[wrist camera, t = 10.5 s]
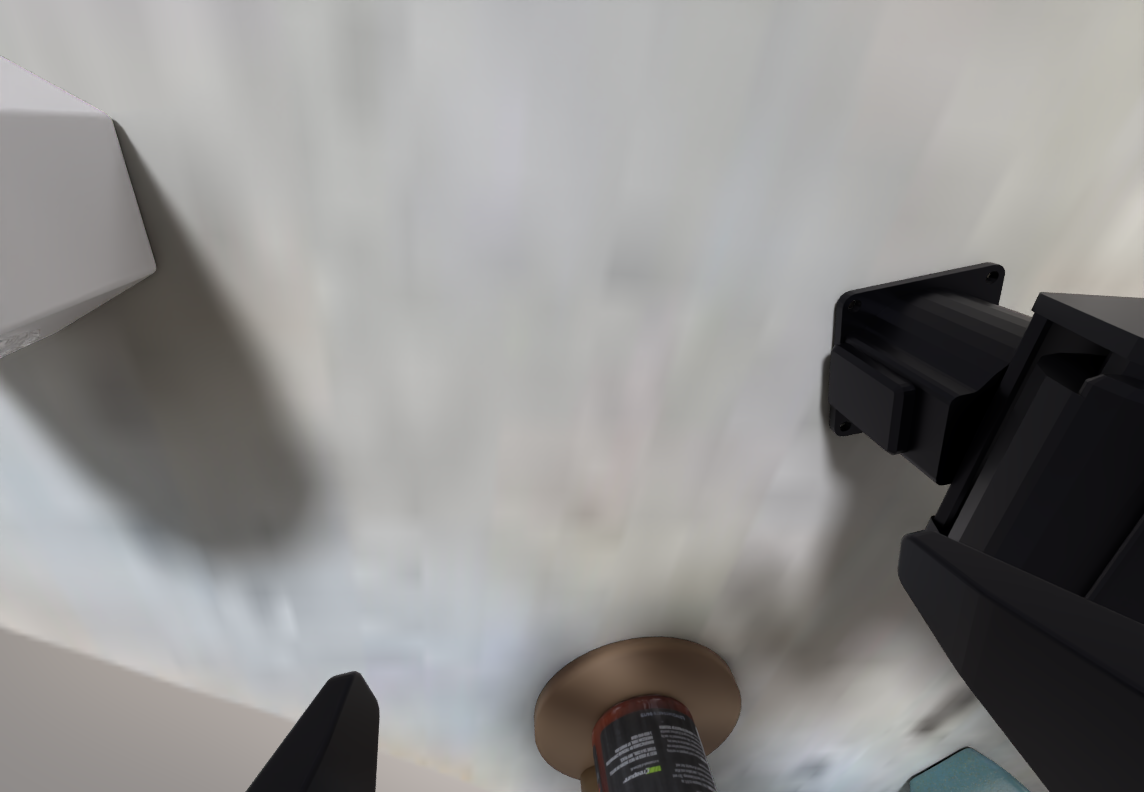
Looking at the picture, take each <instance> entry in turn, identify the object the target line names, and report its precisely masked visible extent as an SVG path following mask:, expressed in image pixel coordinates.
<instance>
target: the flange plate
mask: <svg viewBox="0 0 1144 792" xmlns="http://www.w3.org/2000/svg"><path fill="white" fill-rule="evenodd" d="M653 694H658V695H661V696H667V697H672V698H673V699H676V700H677V701H680V702H681V703H683V704H684V705H685V706H686V707H687V708H688V710H689V711H690V713H691V715H692V717H693V720H694V723H695V726H696V728H697V731H698V734H699V737H700V740H701V743H702V746H703V749H704V752H705V755H706V756H707V755H709V754H710V753H711V752H713V751H714V750H715V749H716V748H717V747H719V746H720V745H721V744H722V743H723V742H724V741H725V739H726V738H727V737H728V736H729V734H730V733H731V732H732V730H733V728H734V727H735V725H736V723H737V720H738V718H739V715H740V710H741V696H740V692H739V689H738V687H737V684H736V682H735V679H734V677H733V675H732V673H731V670H730V668H729V666H728V665H727V664H726V663H725V661H724V660H723V659H722V658H721V657H720V656H719V655H718V654H716V653H715V652H713V651H712V650H710V649H709V648H707V647H704V646H702V645H700V644H698V643H694V642H691V641H688V640H683V639H678V638H669V637H643V638H635V639H629V640H624V641H619V642H615V643H612V644H609V645H605V646H602V647H600V648H597V649H595V650H592V651H590V652H588V653H586V654H584V655H582V656H580V657H578V658H577V659H575V660H573V661H572V662H570V663H569V664H567V665H566V666H565V667H563V668H562V669H561V670H560V671H558V672H557V673H556V674H555V675H554V676H553V677H552V678H551V679H550V680H549V682H548V683H547V684H546V686H545V687H544V688H543V690H542V692H541V693H540V695H539V697H538V700H537V703H536V706H535V712H534V727H535V741H536V745H537V748H538V750H539V752H540V754H541V756H542V757H543V758H544V759H545V761H546V762H547V763H548V764H549V765H551V766H552V767H553V768H554V769H556V770H557V771H559V772H561V773H563V774H565V775H567V776H569V777H572V778H575V779H578V780H580V781H581V789H582V792H599V789H598V784H597V776H596V771H595V763H594V758H593V747H592V732H593V729H594V726H595V724H596V723H597V721H598V720H599V718H600V717H601V716H602V715H603V714H604V713H605V712H606V711H608V710H609V709H610V708H612V707H613V706H614V705H616V704H618V703H620V702H623V701H625V700H628V699H631V698H633V697H638V696H646V695H653Z"/></svg>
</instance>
